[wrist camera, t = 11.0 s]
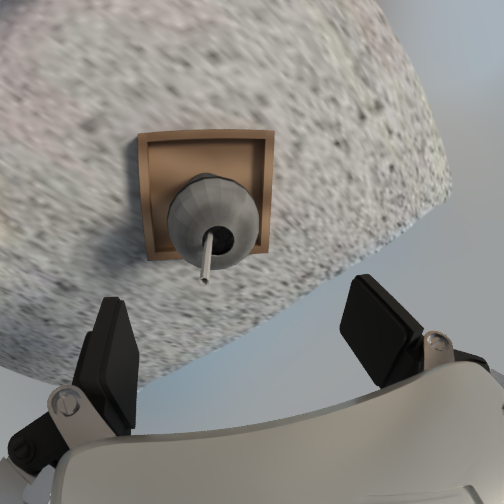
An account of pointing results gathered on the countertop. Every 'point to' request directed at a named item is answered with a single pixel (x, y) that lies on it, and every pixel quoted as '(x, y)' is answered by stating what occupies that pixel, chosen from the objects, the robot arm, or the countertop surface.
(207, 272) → the beverage cup
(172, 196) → the walnut tray
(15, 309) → the countertop surface
